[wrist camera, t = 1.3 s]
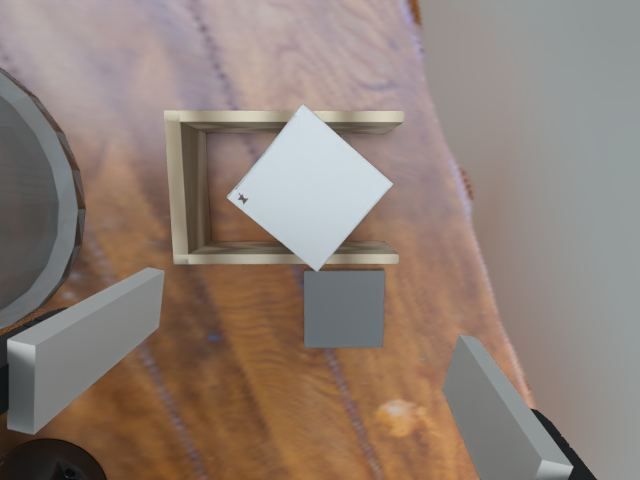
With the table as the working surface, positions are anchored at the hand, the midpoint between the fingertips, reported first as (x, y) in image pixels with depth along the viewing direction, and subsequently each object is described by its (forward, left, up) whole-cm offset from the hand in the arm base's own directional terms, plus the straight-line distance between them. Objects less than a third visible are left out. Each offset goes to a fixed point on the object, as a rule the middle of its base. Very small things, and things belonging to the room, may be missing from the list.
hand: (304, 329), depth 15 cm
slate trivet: (+4, -9, -29) cm, 31 cm away
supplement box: (0, +6, -29) cm, 30 cm away
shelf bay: (-2, +6, -29) cm, 29 cm away
